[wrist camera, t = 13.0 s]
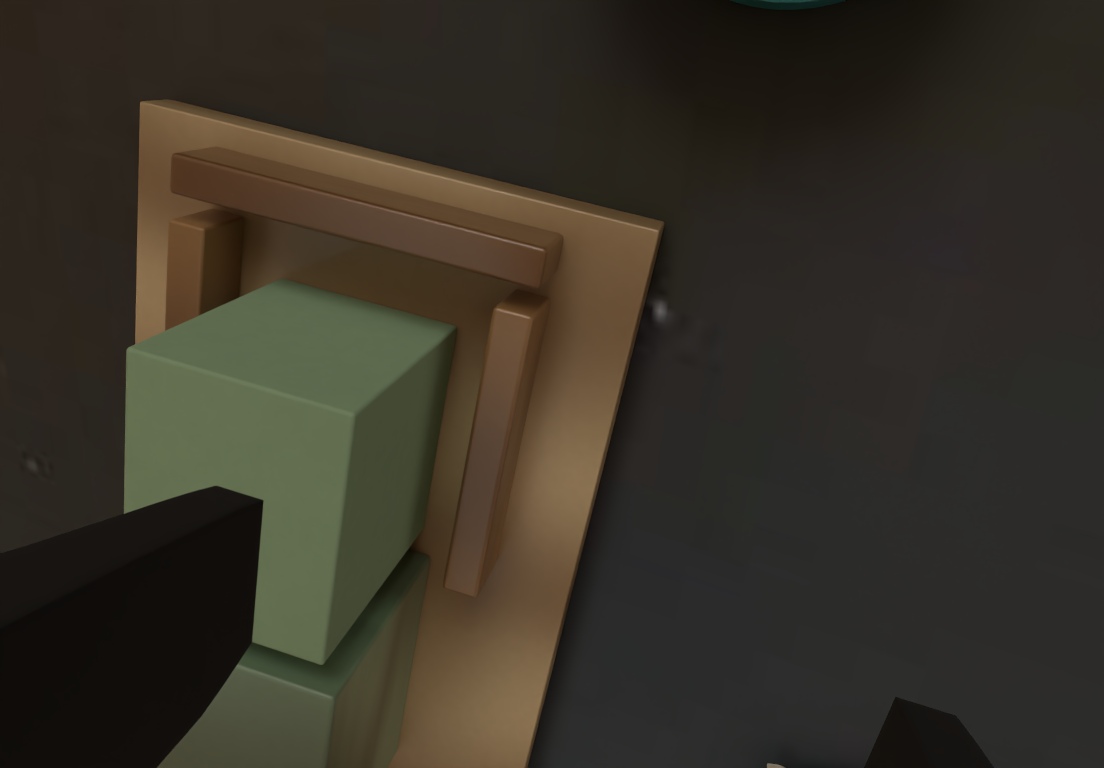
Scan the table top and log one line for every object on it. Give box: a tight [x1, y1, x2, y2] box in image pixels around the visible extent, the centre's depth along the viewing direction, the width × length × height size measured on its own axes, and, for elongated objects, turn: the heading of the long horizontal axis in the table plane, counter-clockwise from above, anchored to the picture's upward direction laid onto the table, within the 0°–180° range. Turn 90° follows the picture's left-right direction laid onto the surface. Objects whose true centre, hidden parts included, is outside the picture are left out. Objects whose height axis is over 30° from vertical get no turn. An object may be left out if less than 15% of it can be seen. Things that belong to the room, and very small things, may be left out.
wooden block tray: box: [135, 99, 665, 768], centre depth 19 cm, size 16×11×6 cm
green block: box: [124, 278, 457, 665], centre depth 17 cm, size 5×4×5 cm
